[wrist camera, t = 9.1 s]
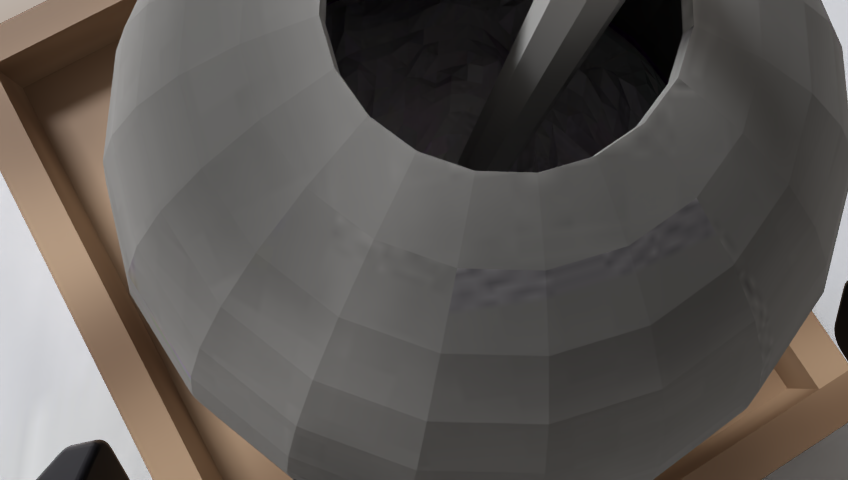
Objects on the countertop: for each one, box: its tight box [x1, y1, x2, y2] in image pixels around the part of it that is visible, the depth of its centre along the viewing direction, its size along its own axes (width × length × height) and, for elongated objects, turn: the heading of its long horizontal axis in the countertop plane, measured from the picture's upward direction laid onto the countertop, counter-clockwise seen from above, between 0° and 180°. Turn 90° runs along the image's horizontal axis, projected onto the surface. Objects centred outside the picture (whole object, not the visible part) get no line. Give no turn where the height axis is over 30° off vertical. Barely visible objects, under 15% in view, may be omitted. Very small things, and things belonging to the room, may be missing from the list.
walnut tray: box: [0, 0, 848, 480], centre depth 19 cm, size 20×16×2 cm
